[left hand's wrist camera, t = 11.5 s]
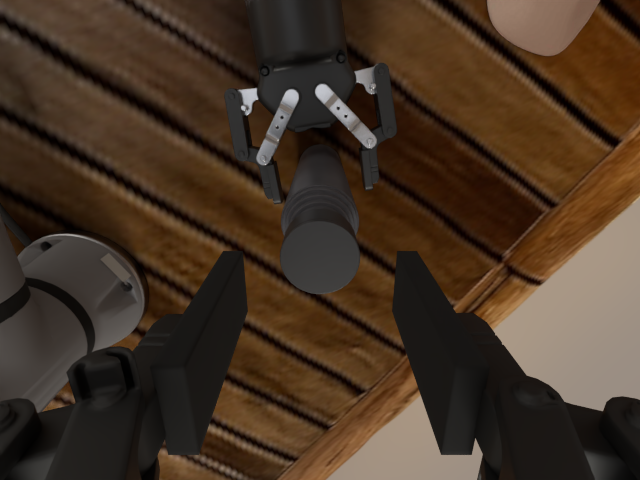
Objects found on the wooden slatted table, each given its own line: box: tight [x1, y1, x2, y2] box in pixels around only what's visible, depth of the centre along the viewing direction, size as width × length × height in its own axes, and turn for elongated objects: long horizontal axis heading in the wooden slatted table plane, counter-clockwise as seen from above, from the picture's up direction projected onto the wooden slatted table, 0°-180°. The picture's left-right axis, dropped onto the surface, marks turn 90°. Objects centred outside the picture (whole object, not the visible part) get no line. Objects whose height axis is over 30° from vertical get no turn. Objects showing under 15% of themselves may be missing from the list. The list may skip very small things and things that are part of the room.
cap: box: [280, 209, 360, 294], centre depth 18 cm, size 4×4×2 cm
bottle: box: [281, 144, 359, 236], centre depth 28 cm, size 5×5×25 cm
